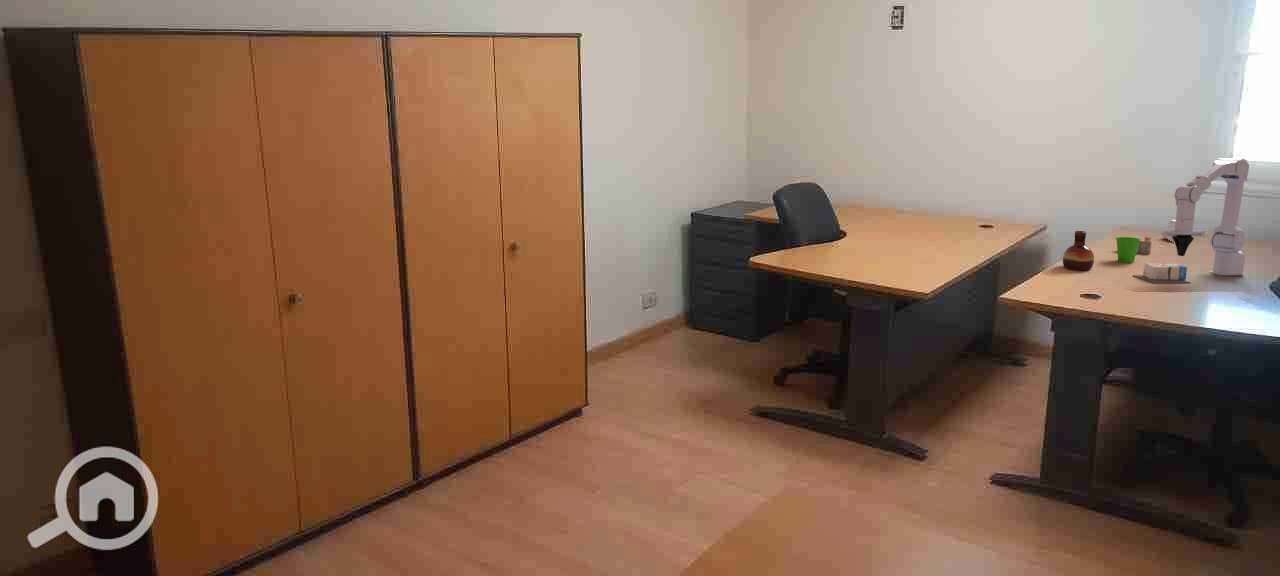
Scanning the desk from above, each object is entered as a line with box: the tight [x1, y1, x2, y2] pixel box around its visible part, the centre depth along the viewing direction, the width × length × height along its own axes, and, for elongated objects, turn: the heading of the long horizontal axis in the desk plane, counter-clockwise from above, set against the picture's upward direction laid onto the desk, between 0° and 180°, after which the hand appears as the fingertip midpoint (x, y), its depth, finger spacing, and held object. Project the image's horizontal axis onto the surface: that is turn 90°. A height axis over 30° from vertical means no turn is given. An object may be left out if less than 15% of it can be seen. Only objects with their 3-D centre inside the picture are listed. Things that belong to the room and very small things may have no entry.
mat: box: [1132, 274, 1191, 284], centre depth 336 cm, size 13×15×1 cm
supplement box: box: [1166, 219, 1185, 243], centre depth 407 cm, size 7×7×13 cm
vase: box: [1062, 230, 1095, 272], centre depth 355 cm, size 11×11×15 cm
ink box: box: [1142, 262, 1188, 281], centre depth 337 cm, size 9×5×12 cm
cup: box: [1115, 236, 1142, 264], centre depth 366 cm, size 9×9×11 cm
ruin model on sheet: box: [1136, 236, 1152, 255], centre depth 384 cm, size 11×3×10 cm, turn 59°
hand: (1180, 255), depth 334 cm, fingers closed
